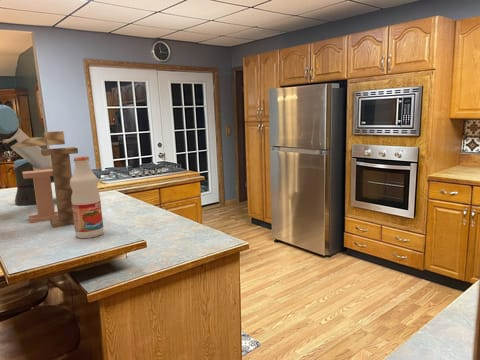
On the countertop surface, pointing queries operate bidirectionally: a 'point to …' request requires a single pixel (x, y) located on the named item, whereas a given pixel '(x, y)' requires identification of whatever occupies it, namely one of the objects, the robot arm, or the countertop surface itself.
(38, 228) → the countertop surface
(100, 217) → the fruit juice
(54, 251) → the countertop surface
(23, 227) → the countertop surface
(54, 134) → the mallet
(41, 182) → the terracotta stand
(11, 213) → the countertop surface
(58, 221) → the walnut stand
